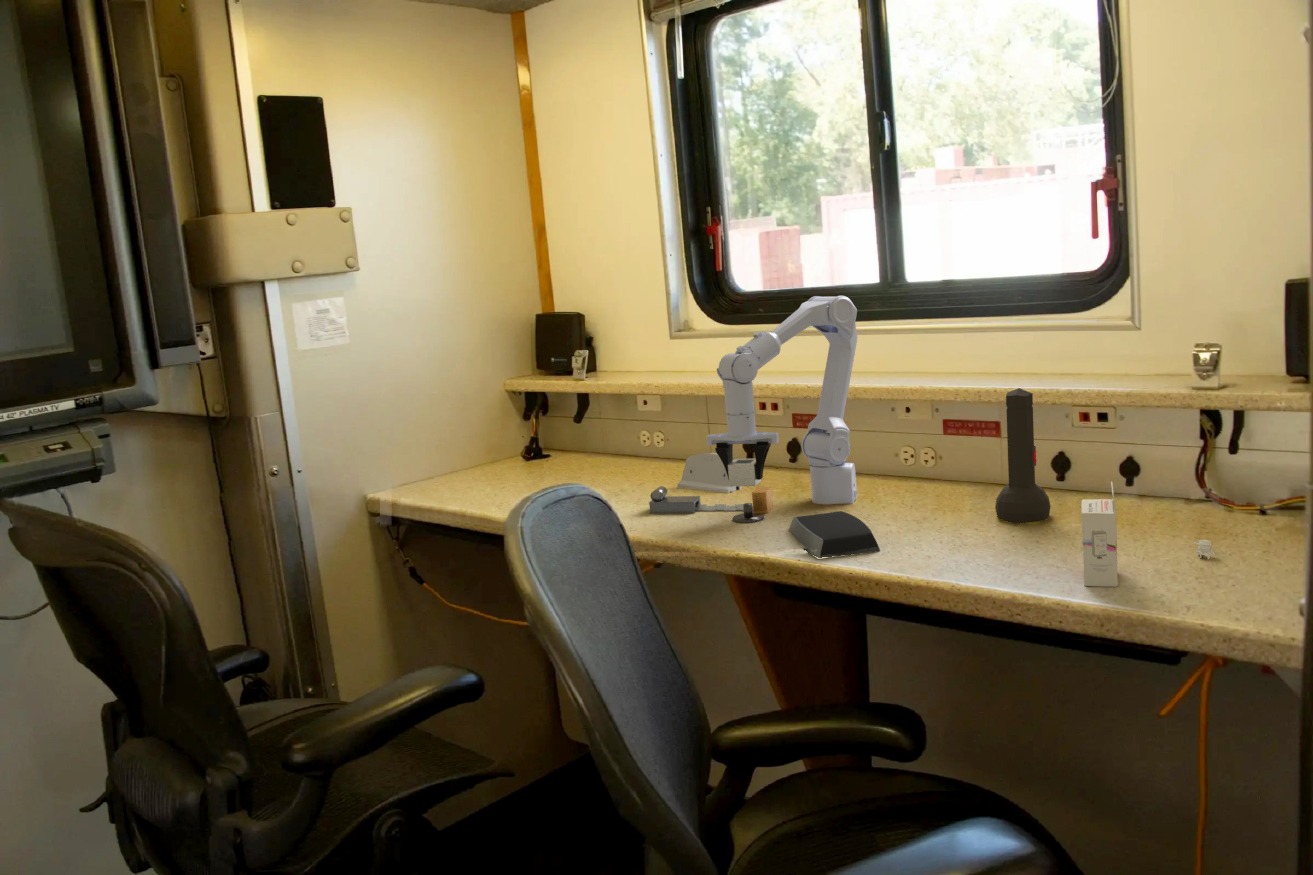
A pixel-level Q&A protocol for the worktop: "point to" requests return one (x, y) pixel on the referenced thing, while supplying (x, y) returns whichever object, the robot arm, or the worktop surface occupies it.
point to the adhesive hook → (1204, 548)
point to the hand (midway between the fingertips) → (745, 478)
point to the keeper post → (748, 515)
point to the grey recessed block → (743, 472)
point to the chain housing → (672, 503)
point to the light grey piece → (706, 474)
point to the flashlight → (1021, 465)
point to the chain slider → (760, 504)
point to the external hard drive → (833, 534)
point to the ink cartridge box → (1099, 541)
